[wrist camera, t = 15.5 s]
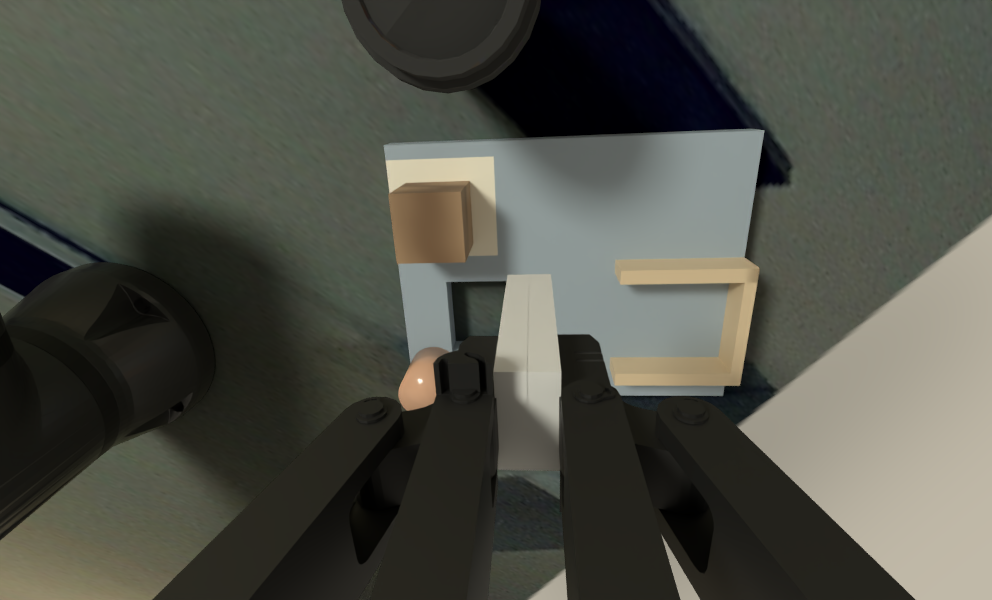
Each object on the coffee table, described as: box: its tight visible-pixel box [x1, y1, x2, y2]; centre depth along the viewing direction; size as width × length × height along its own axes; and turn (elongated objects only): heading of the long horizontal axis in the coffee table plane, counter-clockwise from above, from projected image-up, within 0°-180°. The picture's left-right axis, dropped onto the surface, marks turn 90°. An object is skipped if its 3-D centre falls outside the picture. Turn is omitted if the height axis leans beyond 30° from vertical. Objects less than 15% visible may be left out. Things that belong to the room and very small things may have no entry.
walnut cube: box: [388, 181, 473, 264], centre depth 33 cm, size 4×4×4 cm
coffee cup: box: [342, 0, 541, 93], centre depth 25 cm, size 8×8×15 cm
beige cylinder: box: [399, 347, 449, 411], centre depth 38 cm, size 4×4×4 cm
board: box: [384, 129, 764, 396], centre depth 36 cm, size 25×20×4 cm
